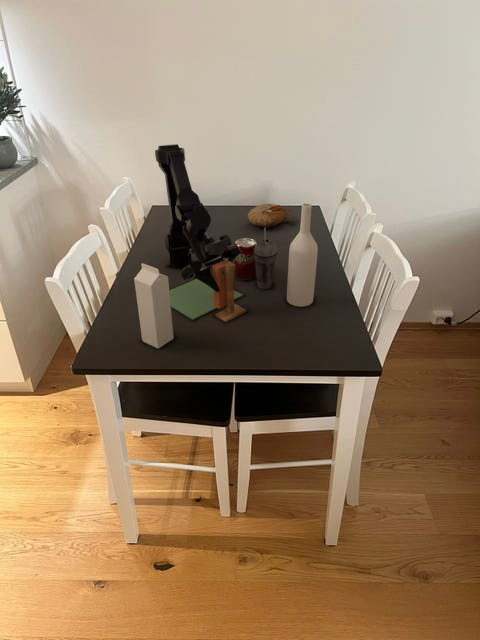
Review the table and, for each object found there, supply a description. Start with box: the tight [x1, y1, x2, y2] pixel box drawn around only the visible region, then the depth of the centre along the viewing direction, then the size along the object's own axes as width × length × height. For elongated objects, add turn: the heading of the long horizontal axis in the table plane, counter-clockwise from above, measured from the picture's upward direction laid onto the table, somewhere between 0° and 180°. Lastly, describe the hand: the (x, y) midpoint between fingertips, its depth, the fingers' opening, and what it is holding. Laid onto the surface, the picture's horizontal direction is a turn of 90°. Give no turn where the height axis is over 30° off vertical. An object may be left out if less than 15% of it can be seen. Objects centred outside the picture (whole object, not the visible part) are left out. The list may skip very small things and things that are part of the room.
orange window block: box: [212, 260, 233, 310], centre depth 142 cm, size 2×5×13 cm, turn 134°
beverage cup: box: [254, 227, 278, 290], centre depth 154 cm, size 7×7×20 cm
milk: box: [134, 262, 174, 349], centre depth 128 cm, size 6×6×22 cm
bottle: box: [286, 202, 319, 308], centre depth 143 cm, size 8×8×30 cm
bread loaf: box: [247, 203, 300, 229], centre depth 200 cm, size 8×22×15 cm
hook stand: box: [215, 262, 247, 323], centre depth 141 cm, size 7×8×16 cm
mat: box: [169, 279, 244, 321], centre depth 153 cm, size 18×20×1 cm
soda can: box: [233, 237, 258, 281], centre depth 161 cm, size 7×7×12 cm
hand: (226, 288), depth 142 cm, fingers closed on orange window block, 5 cm apart
